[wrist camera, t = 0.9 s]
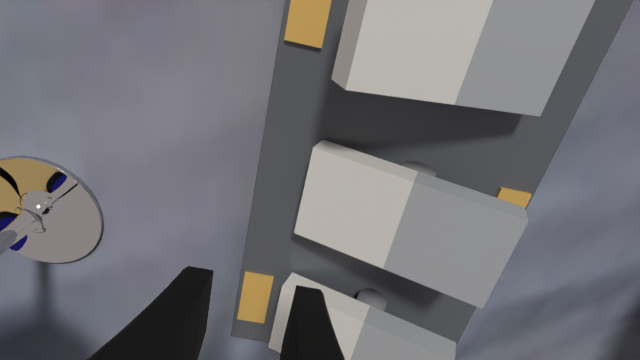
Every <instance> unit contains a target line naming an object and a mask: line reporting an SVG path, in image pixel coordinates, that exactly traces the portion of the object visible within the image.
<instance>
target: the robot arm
mask: <svg viewBox="0 0 640 360" xmlns="http://www.w3.org/2000/svg"><path fill="white" fill-rule="evenodd" d="M212 278H213V270H207V269H202V268H196V267H190V266H188V267H186V268H185V269H183V270H182V271H181V273H180V274H179V275H178V276H177V277H176V278H175V279H174V280H173V281H172V282H171V283H170V285H169V286H168V287H167V288H166V289H165V290H164V291H163V292H162V293H161V294H160V295H159V296H158V297H157V298H156V299H155V300H154V301H153V302H152V303H151V304H150V305H149V306H148V307H146V308H145V309H144V310H143V311H142V312H141V313H140V314H139V315H138V316H137V317H136V318H135V319H134V320H132V321H131V322H130V323H129V324H128V325H127V326H126V327H125V328H124V329H123V330H122V331H120V332H119V333H118V334H117V335H116V336H115V337H113V338H112V339H111V340H110V341H109V342H107V343H106V344H105V345H104V346H103V347H101V348H100V349H99V350H98V351H97V352H96V353H94V354H93V355H92V356H91V357H90V358H88V359H87V360H197V359H198V356H199V353H200V349H201V346H202V342H203V339H204V336H205V332H206V327H207V319H208V310H209V302H210V294H211V286H212ZM280 360H345V358H344V356H343V353H342V351H341V348H340V346H339V343H338V340H337V337H336V335H335V332H334V329H333V326H332V323H331V320H330V316H329V313H328V310H327V306H326V302H325V298H324V294H323V292H322V291H321V290H320V289H316V288H310V287H304V286H299V285H296V289H295V293H294V297H293V301H292V305H291V309H290V313H289V317H288V321H287V326H286V330H285V334H284V338H283V342H282V348H281V355H280Z"/></svg>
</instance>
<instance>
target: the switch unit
mask: <svg viewBox="0 0 640 360" xmlns="http://www.w3.org/2000/svg"><path fill="white" fill-rule="evenodd" d="M632 2H633V0H595V2H594V4H593V6H592V8H591V10H590V12H589V14H588V17H587V19H586V21H585V23H584V25H583V27H582V29H581V31H580V33H579V36H578V38H577V40H576V42H575V44H574V46H573V48H572V50H571V52H570V55H569V57H568V59H567V61H566V63H565V65H564V67H563V69H562V71H561V73H560V76H559V78H558V80H557V82H556V84H555V86H554V88H553V90H552V92H551V95H550V97H549V99H548V101H547V103H546V105H545V107H544V109H543V111H542V114H541V116H533V115H526V114H518V113H511V112H503V111H496V110H489V109H481V108H474V107H467V106H459V105H452V104H444V103H437V102H430V101H422V100H415V99H408V98H400V97H393V96H385V95H378V94H371V93H363V92H356V91H349V90H345V89H344V88H342V87H341V86H340V85H338V84H337V83H336V82H334V81H333V80H332V79H331V78H332V73H333V69H334V64H335V60H336V56H337V51H338V47H339V42H340V38H341V34H342V29H343V25H344V20H345V16H346V12H347V7H348V3H349V0H285V6H284V12H283V18H282V24H281V30H280V37H279V43H278V49H277V55H276V61H275V67H274V73H273V80H272V86H271V92H270V98H269V104H268V110H267V116H266V123H265V129H264V135H263V141H262V147H261V153H260V159H259V166H258V172H257V178H256V184H255V190H254V196H253V202H252V209H251V215H250V221H249V227H248V233H247V239H246V245H245V252H244V258H243V264H242V270H241V276H240V282H239V288H238V294H237V301H236V307H235V313H234V319H233V325H232V331H231V336H233V337H240V338H246V339H252V340H258V341H264V342H270V338H271V333H272V329H273V324H274V320H275V315H276V311H277V306H278V302H279V297H280V293H281V288H282V286H283V284H284V283H285V282H286V280H287V279H288V278H289V276H290V275H291V274H292V272H293V273H295V274H298V275H300V276H302V277H305V278H307V279H309V280H312V281H314V282H316V283H319V284H321V285H323V286H326V287H328V288H330V289H333V290H335V291H337V292H340V293H342V294H344V295H347V296H349V297H351V298H354V299H356V300H357V297H358V294H359V292H360V291H361V290H362V289H366V288H369V289H374V290H377V291H379V292H380V293H382V294H383V295H384V296H385V298H386V300H387V305H386V308H385V310H384V312H386V313H389V314H391V315H393V316H396V317H398V318H400V319H403V320H405V321H407V322H410V323H412V324H414V325H417V326H419V327H421V328H424V329H426V330H428V331H431V332H433V333H435V334H438V335H440V336H442V337H445V338H447V339H449V340H452V341H454V342H456V345H457V343H458V341H459V339H460V337H461V335H462V333H463V331H464V329H465V327H466V326H467V324H468V322H469V320H470V318H471V316H472V314H473V312H474V310H475V308H476V306H474V305H471V304H469V303H466V302H464V301H462V300H459V299H457V298H454V297H452V296H449V295H447V294H444V293H442V292H439V291H437V290H434V289H432V288H429V287H427V286H424V285H422V284H419V283H417V282H414V281H412V280H409V279H407V278H404V277H402V276H399V275H397V274H395V273H392V272H390V271H387V270H385V269H382V268H380V267H377V266H375V265H372V264H370V263H367V262H365V261H362V260H360V259H357V258H355V257H352V256H350V255H347V254H345V253H342V252H340V251H337V250H335V249H332V248H330V247H328V246H325V245H323V244H320V243H318V242H315V241H313V240H310V239H308V238H305V237H303V236H300V235H298V234H295V233H294V230H295V226H296V221H297V217H298V212H299V208H300V203H301V199H302V195H303V190H304V186H305V181H306V177H307V172H308V168H309V163H310V159H311V154H312V150H313V147H314V146H316V145H317V144H318V143H320V142H321V141H322V140H326V141H329V142H332V143H335V144H338V145H341V146H344V147H347V148H350V149H353V150H356V151H359V152H362V153H365V154H368V155H371V156H374V157H377V158H380V159H383V160H386V161H389V162H392V163H395V164H398V165H401V166H402V163H403V162H404V161H416V162H420V163H423V164H425V165H428V166H429V167H431V168H433V169H434V170H435V171H436V178H439V179H442V180H445V181H448V182H451V183H454V184H457V185H460V186H463V187H466V188H469V189H472V190H475V191H478V192H481V193H484V194H487V195H490V196H493V197H496V198H499V199H502V200H505V201H508V202H511V203H514V204H516V205H519V206H522V207H525V210H526V209H527V207H528V205H529V203H530V201H531V199H532V197H533V195H534V193H535V191H536V189H537V187H538V185H539V183H540V181H541V179H542V177H543V175H544V173H545V172H546V170H547V168H548V166H549V164H550V162H551V160H552V158H553V156H554V154H555V152H556V150H557V148H558V146H559V144H560V142H561V140H562V138H563V136H564V134H565V133H566V131H567V129H568V127H569V125H570V123H571V121H572V119H573V117H574V115H575V113H576V111H577V109H578V107H579V105H580V103H581V101H582V99H583V97H584V95H585V94H586V92H587V90H588V88H589V86H590V84H591V82H592V80H593V78H594V76H595V74H596V72H597V70H598V68H599V66H600V64H601V62H602V60H603V58H604V57H605V55H606V53H607V51H608V49H609V47H610V45H611V43H612V41H613V39H614V37H615V35H616V33H617V31H618V29H619V27H620V25H621V23H622V21H623V19H624V18H625V16H626V14H627V12H628V10H629V8H630V6H631V4H632Z"/></svg>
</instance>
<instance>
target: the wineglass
mask: <svg viewBox="0 0 640 360" xmlns="http://www.w3.org/2000/svg"><path fill="white" fill-rule="evenodd" d="M102 228H103V220H102V214H101V210H100V208H99V205H98V203H97V201H96V199H95V197H94V196H93V194H92V193H91V191H90V190H89V189H88V188H87V187H86V185H85V184H84V183H83V182H82V181H81V180H79V179H78V178H77V177H76V176H75V175H73V174H72V173H70V172H69V171H67V170H66V169H64V168H62V167H61V166H59V165H57V164H54V163H52V162H49V161H46V160H43V159H39V158H35V157H27V156H15V157H8V158H4V159H1V160H0V255H1V254H2V253H4V252H5V251H6V250H7V249H9V248H10V249H11V250H13V251H15V252H17V253H19V254H21V255H23V256H25V257H28V258H31V259H34V260H38V261H42V262H49V263H64V262H70V261H74V260H77V259H79V258H82V257H83V256H85V255H87V254H88V253H89V252H90V251H91V250H92V249H93V248H94V247H95V246H96V244H97V243H98V241H99V239H100V237H101V234H102Z"/></svg>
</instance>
